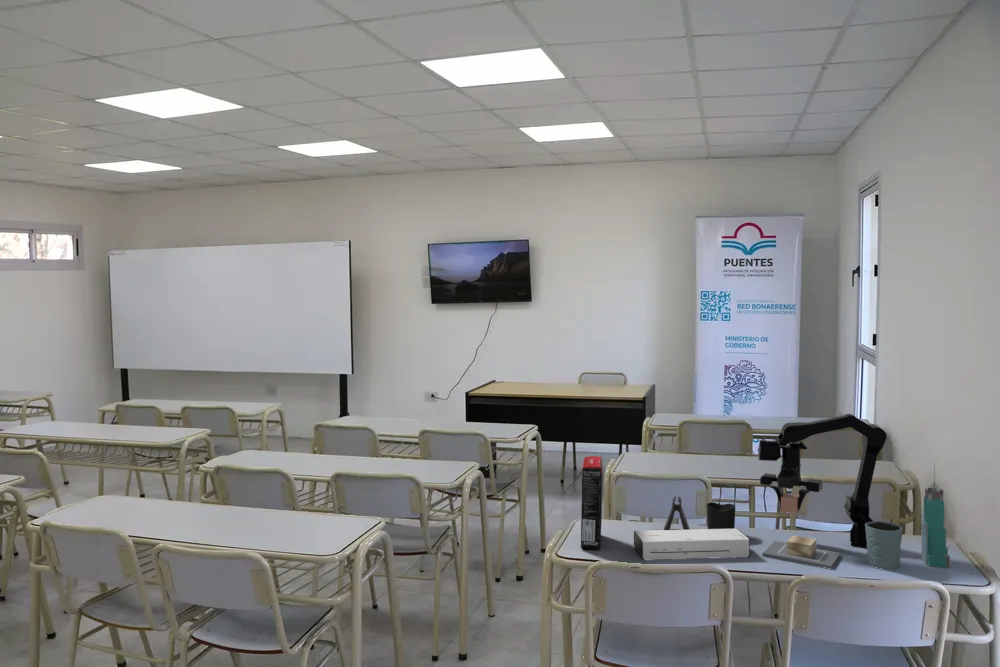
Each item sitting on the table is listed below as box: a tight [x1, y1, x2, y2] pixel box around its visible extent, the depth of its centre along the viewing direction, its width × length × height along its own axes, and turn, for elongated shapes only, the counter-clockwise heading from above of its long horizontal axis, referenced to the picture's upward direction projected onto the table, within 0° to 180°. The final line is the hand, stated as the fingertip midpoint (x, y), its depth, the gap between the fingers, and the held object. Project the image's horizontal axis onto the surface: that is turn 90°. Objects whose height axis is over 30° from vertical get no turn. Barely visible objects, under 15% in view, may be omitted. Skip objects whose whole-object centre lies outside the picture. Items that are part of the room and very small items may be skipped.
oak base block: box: [786, 535, 817, 558], centre depth 231 cm, size 7×7×4 cm
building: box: [921, 465, 951, 568], centre depth 223 cm, size 6×6×30 cm
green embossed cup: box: [865, 520, 903, 570], centre depth 223 cm, size 10×10×12 cm
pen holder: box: [706, 501, 736, 529], centre depth 253 cm, size 9×9×10 cm
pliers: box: [663, 496, 691, 530], centre depth 255 cm, size 9×6×12 cm, turn 75°
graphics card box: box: [580, 455, 603, 550], centre depth 245 cm, size 17×7×27 cm, turn 172°
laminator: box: [633, 528, 751, 561], centre depth 235 cm, size 34×12×6 cm, turn 93°
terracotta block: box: [780, 493, 801, 515], centre depth 246 cm, size 5×5×5 cm
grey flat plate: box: [762, 540, 842, 570], centre depth 231 cm, size 20×14×1 cm
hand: (790, 508), depth 246 cm, fingers closed on terracotta block, 5 cm apart
